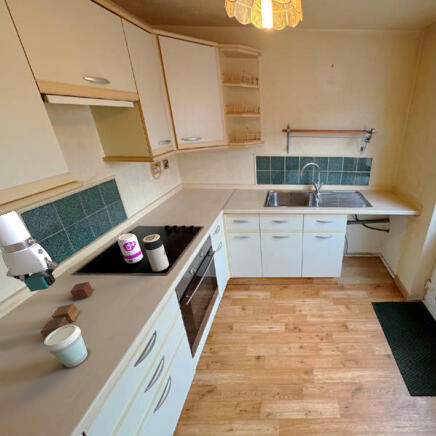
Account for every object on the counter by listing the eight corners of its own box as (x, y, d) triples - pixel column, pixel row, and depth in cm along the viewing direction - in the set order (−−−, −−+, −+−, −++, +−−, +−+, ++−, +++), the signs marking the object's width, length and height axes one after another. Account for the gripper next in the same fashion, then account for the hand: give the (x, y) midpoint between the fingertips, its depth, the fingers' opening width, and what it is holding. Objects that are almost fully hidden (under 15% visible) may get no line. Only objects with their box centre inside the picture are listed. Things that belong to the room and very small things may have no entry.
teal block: (30, 291, 84) (23, 281, 82) (39, 283, 89) (32, 273, 86) (47, 288, 86) (41, 278, 84) (55, 280, 90) (49, 270, 88)
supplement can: (144, 260, 127) (135, 236, 121) (126, 265, 123) (117, 242, 116) (142, 253, 133) (134, 231, 127) (125, 258, 129) (116, 235, 122)
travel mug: (150, 272, 117) (139, 242, 109) (155, 263, 124) (145, 234, 116) (166, 270, 118) (157, 240, 111) (170, 261, 126) (162, 233, 118)
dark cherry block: (74, 300, 101) (69, 291, 98) (79, 292, 105) (75, 284, 103) (88, 297, 102) (83, 288, 100) (92, 289, 106) (88, 281, 104)
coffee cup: (94, 342, 82) (80, 318, 77) (91, 362, 75) (75, 337, 70) (62, 355, 78) (45, 331, 72) (56, 377, 71) (37, 352, 66)
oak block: (57, 325, 89) (51, 316, 86) (64, 315, 93) (58, 306, 91) (73, 321, 90) (67, 312, 88) (79, 312, 94) (73, 303, 92)
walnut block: (47, 341, 83) (40, 331, 80) (54, 329, 87) (48, 320, 85) (64, 336, 84) (57, 327, 82) (70, 325, 88) (64, 316, 86)
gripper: (53, 235, 85) (75, 274, 93) (-7, 244, 80) (21, 284, 88) (41, 245, 78) (65, 286, 86) (-25, 255, 74) (6, 298, 81)
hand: (42, 284), depth 87 cm, fingers closed on teal block, 5 cm apart
